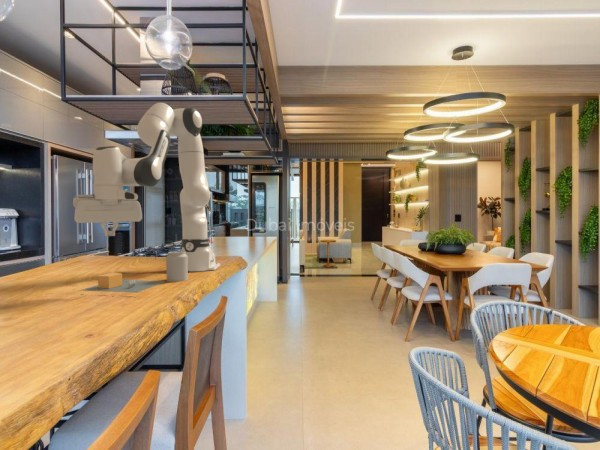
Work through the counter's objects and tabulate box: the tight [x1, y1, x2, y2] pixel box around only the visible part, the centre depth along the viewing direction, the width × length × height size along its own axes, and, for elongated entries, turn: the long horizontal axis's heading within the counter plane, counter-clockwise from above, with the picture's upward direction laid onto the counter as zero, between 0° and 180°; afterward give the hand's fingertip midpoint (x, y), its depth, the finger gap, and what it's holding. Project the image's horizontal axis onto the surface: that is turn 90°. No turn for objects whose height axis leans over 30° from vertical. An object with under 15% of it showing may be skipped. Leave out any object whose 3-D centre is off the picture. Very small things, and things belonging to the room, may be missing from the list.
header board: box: [80, 279, 168, 298], centre depth 133 cm, size 19×20×4 cm
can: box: [165, 250, 189, 283], centre depth 143 cm, size 8×8×12 cm
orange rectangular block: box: [97, 272, 123, 289], centre depth 130 cm, size 6×4×4 cm
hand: (110, 236), depth 130 cm, fingers closed
